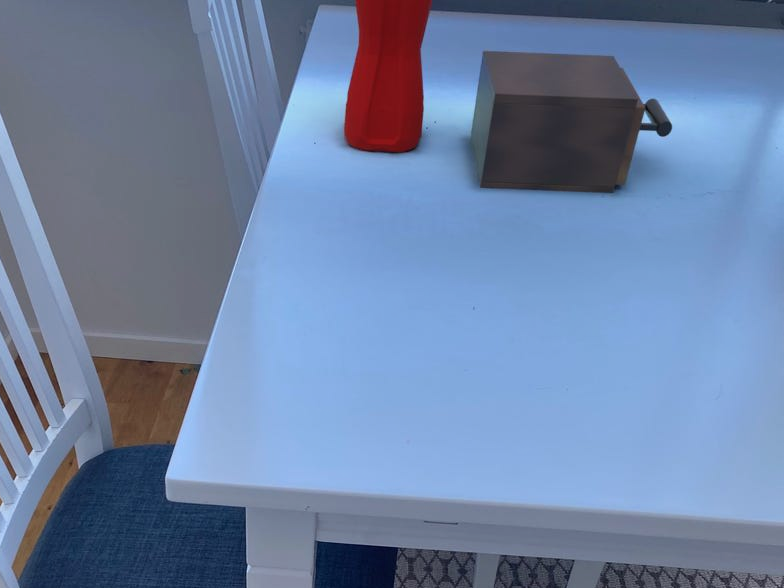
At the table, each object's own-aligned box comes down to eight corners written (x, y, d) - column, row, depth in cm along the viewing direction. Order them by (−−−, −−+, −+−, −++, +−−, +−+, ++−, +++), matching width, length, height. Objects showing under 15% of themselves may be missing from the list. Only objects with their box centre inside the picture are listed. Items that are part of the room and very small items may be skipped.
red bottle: (420, 124, 117) (448, -132, 99) (420, 158, 110) (450, -111, 91) (346, 119, 118) (360, -137, 99) (341, 154, 110) (355, -116, 92)
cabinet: (591, 147, 114) (613, 55, 106) (612, 195, 104) (638, 99, 97) (469, 142, 114) (483, 50, 106) (479, 190, 104) (495, 93, 97)
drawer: (640, 142, 112) (660, 68, 107) (663, 186, 104) (687, 109, 98) (491, 136, 113) (503, 62, 107) (502, 180, 104) (515, 102, 98)
